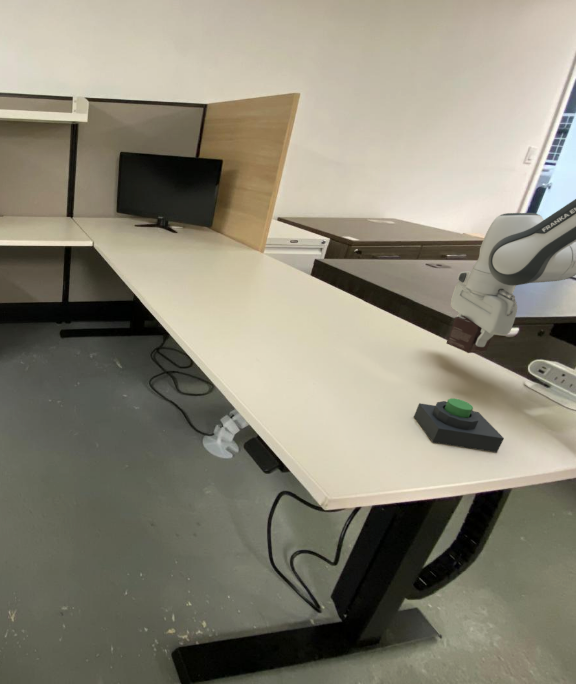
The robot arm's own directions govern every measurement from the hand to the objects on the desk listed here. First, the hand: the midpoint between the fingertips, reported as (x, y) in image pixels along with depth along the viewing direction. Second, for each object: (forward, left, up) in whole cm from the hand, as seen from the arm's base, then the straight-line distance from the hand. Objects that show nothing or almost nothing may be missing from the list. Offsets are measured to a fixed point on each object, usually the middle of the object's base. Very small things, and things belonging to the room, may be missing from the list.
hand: (468, 338), depth 113 cm
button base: (+14, +32, -9) cm, 36 cm away
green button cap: (+15, +32, -4) cm, 36 cm away
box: (0, 0, -3) cm, 3 cm away
